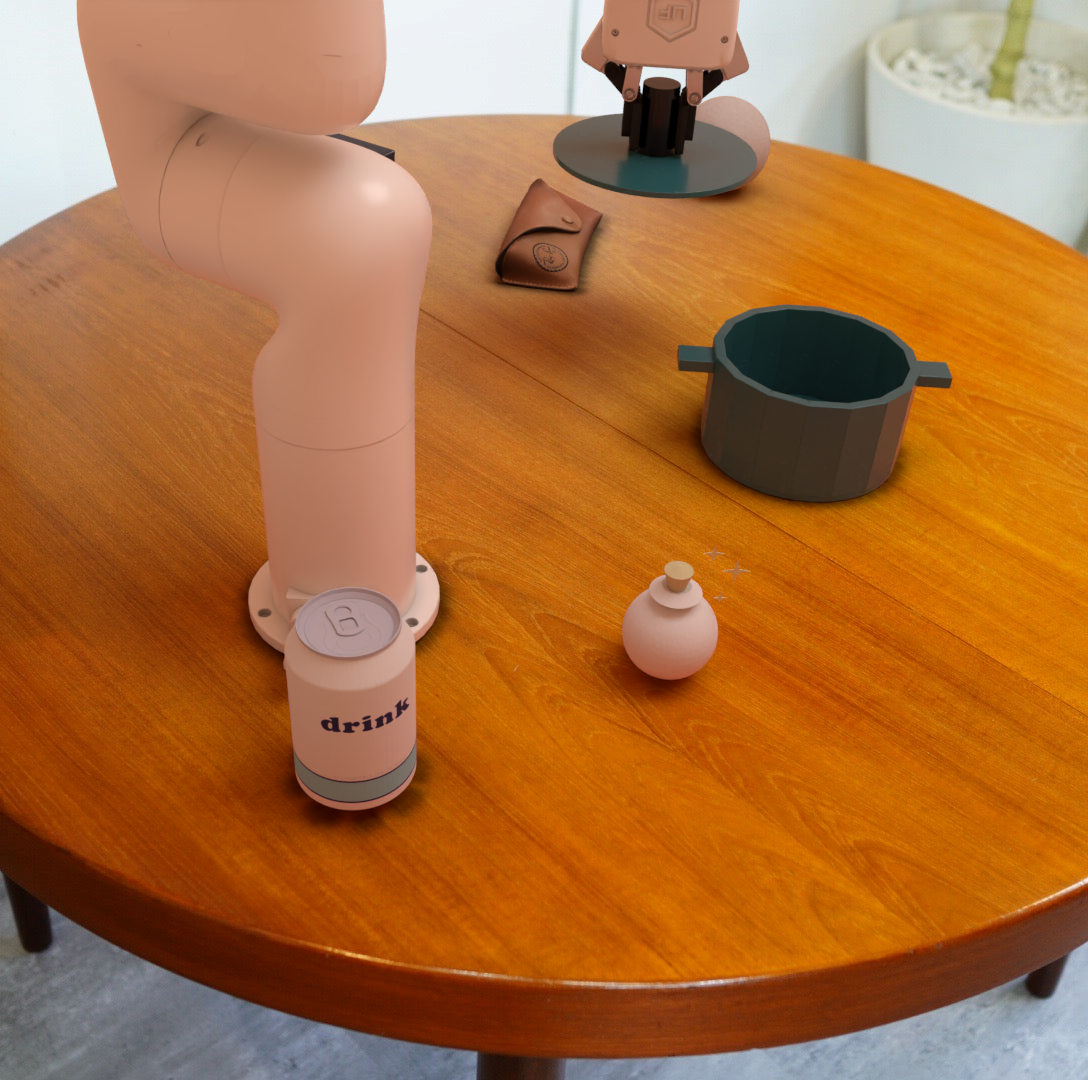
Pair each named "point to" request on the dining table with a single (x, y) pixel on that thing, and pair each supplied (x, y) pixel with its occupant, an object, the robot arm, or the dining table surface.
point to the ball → (738, 124)
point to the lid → (655, 152)
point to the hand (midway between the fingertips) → (655, 144)
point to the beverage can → (352, 698)
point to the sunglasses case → (546, 240)
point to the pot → (807, 400)
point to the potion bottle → (672, 624)
